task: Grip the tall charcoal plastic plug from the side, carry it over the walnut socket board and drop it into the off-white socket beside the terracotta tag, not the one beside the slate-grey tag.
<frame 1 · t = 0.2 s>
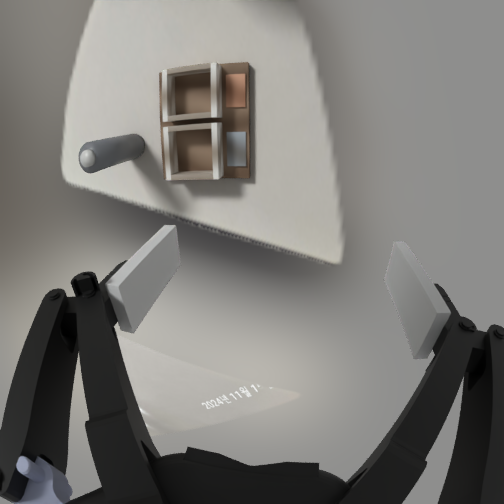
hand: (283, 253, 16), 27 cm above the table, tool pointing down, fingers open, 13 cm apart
socket board: (204, 121, 38), on the table
plug: (133, 146, 41), on the table
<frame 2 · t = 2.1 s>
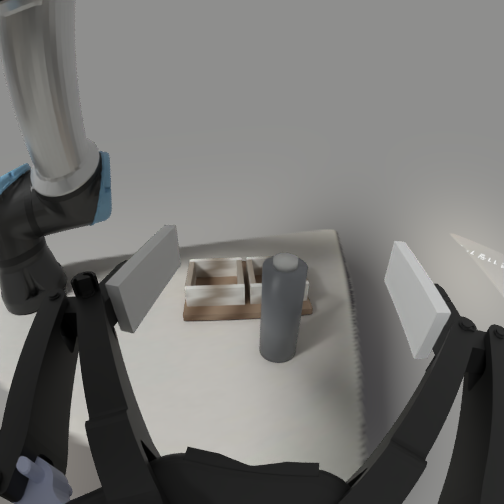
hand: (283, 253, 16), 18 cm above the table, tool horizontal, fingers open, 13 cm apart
socket board: (245, 288, 44), on the table
plug: (277, 349, 32), on the table
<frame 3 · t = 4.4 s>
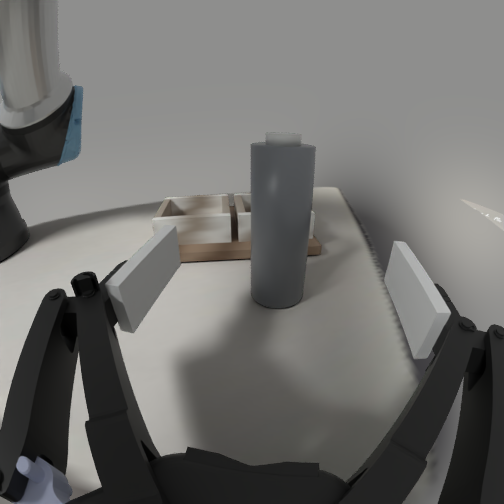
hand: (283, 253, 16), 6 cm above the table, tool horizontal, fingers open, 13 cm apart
socket board: (232, 231, 34), on the table
plug: (276, 291, 23), on the table
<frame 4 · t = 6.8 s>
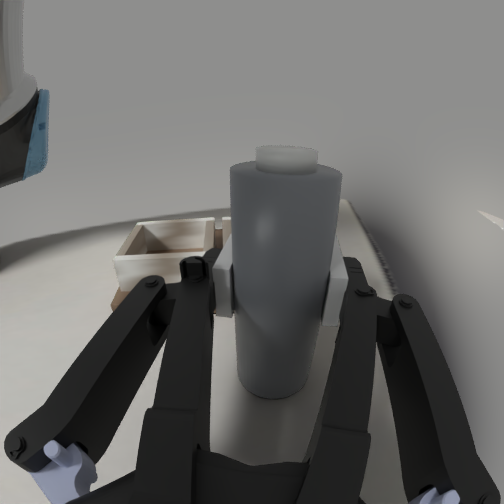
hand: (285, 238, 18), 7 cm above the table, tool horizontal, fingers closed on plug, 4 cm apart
socket board: (220, 266, 27), on the table
plug: (273, 370, 16), on the table, touching gripper
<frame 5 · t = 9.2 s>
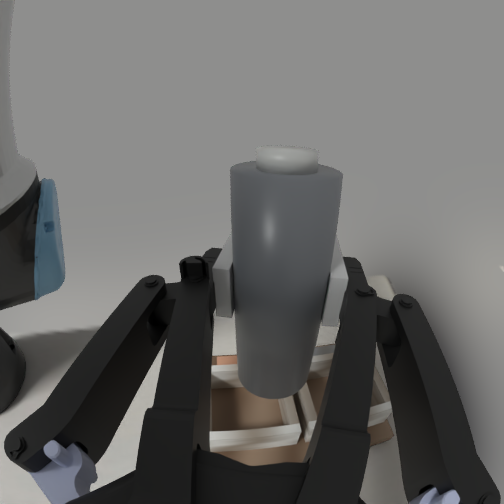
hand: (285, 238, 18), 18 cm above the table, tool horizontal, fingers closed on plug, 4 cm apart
socket board: (289, 404, 25), on the table
plug: (273, 370, 16), point 11 cm above the table, touching gripper
when the fingers open (9 cm above the table, at t = 11.8 s): plug drops 2 cm, resting on socket board.
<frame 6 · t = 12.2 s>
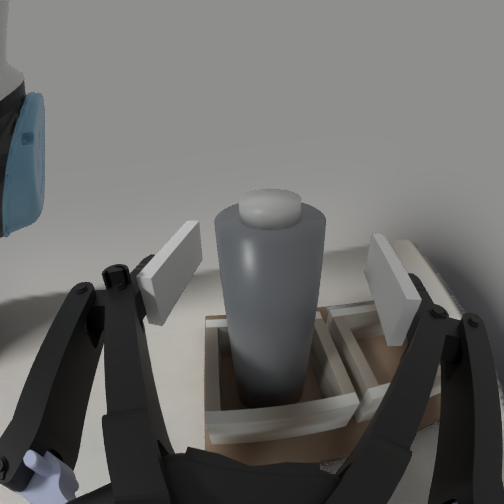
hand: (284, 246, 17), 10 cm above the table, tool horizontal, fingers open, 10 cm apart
socket board: (327, 375, 19), on the table
plug: (270, 386, 17), point 1 cm above the table, touching socket board
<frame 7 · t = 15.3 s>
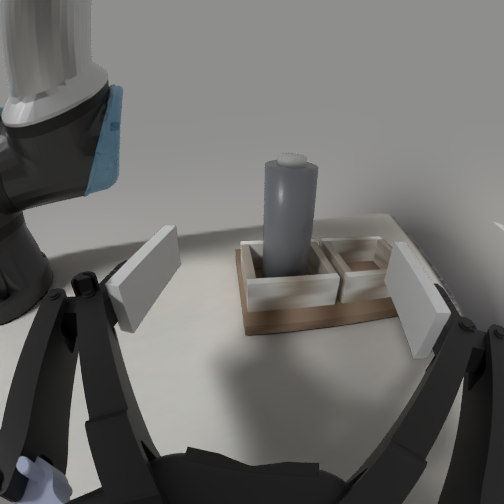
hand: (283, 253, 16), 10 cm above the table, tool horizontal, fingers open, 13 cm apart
socket board: (320, 282, 30), on the table
plug: (283, 282, 28), point 1 cm above the table, touching socket board
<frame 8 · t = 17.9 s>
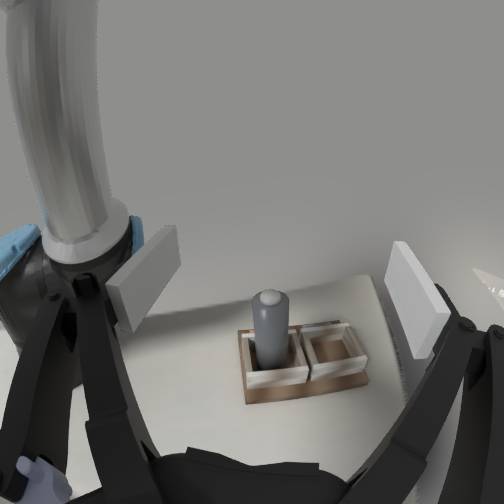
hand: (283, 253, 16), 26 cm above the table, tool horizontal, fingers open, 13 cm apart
socket board: (299, 360, 40), on the table
plug: (271, 364, 38), point 1 cm above the table, touching socket board
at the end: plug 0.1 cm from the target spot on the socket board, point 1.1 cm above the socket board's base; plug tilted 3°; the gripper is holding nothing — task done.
